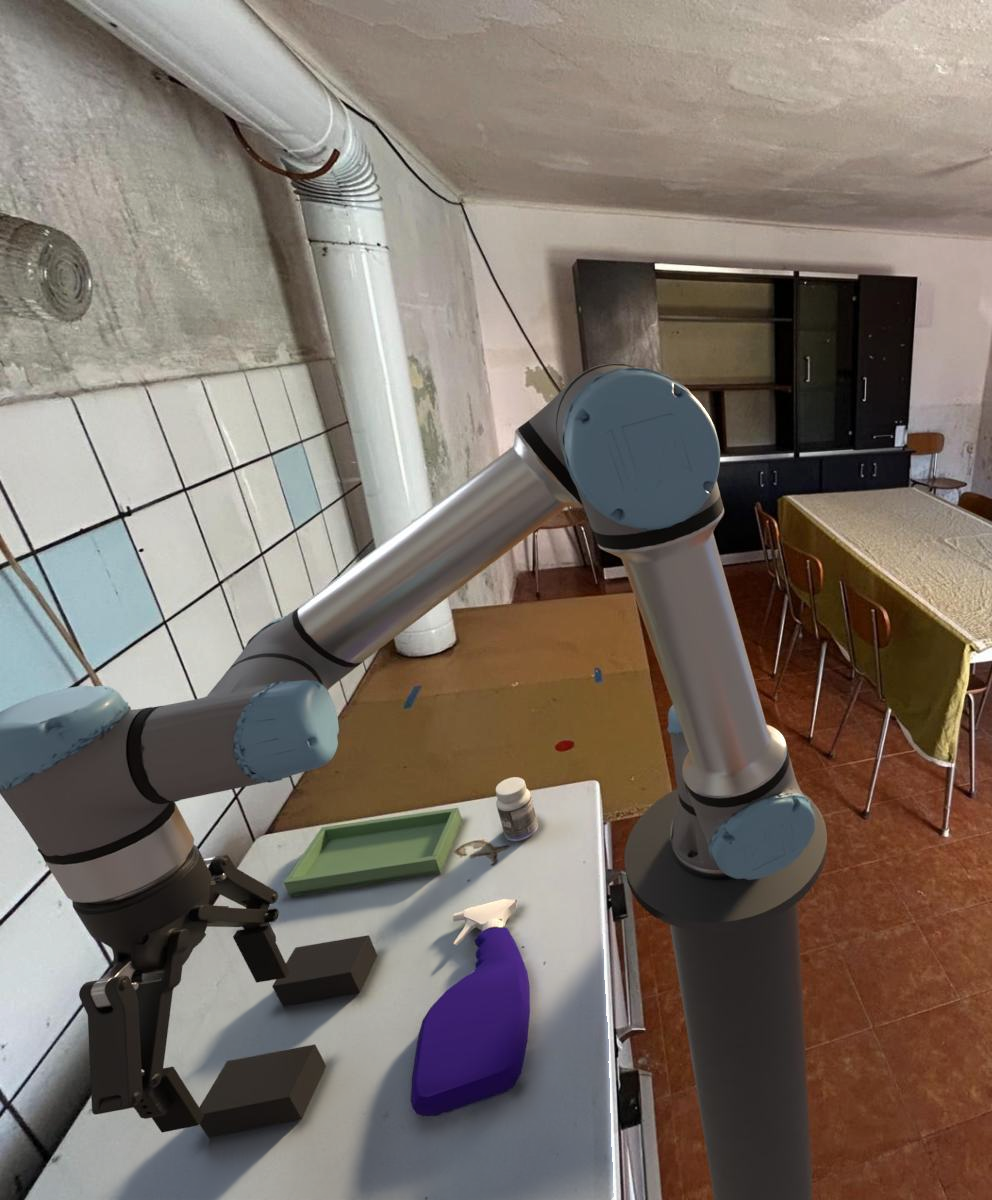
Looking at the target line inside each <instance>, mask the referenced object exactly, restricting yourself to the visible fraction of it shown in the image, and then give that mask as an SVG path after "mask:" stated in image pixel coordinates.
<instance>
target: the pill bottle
mask: <svg viewBox="0 0 992 1200" xmlns="http://www.w3.org/2000/svg"><path fill="white" fill-rule="evenodd" d="M495 795H496V796H495V797H496V802H495V805H496V809H497V813H498V816H499V820H500V824H501V827H502V830H503V831H502V832H503V834H504V836H505V838H506V839H507V840H508V841H511V842H521V841H524V840H526V839H528V838H530V837H531V836H533V835H534V834H535V833H536V831H537V830H538V827H539V824H538V823H539V822H538V817H537V813H536V811H535V807H534V802H533V798H532V793H531V792H530V790H529V789H528V788H527V785H526V782H525V779H523V778H522V777H518V776H513V777H508V778H505V779H504V780H501V781H500V782H499V783H497V785H496V786H495Z"/></svg>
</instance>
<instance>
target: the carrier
mask: <svg viewBox="0 0 992 1200" xmlns="http://www.w3.org/2000/svg"><path fill="white" fill-rule="evenodd" d="M462 823H463V818H462V814H461V811H460V808H459V807H453V808H446V809H440V810H432V811H426V812H419V813H411V814H405V815H398V816H397V815H396V816H390V817H384V818H377V819H370V820H363V821H358V822H357V821H355V822H349V823H341V824H334V825H327V826H322V827H321V828H320V829H319V830H318V832H317V834H316V835H315V836H314V838H313V839H312V841H311V842H310V843H309V845H308V847H307V848H306V849H305V851H304V852H303V854H302V855H301V856H300V858H299V859H298V861H297V862H296V864H295V865H294V867H293V868H292V870H291V871H290V872H289V874H288V875H287V877H286V878H285V880H284V881H283V885H284V887H285V889H286V891H287V893H288V895H289V897H290V898H293V897H299V896H305V895H312V894H318V893H319V894H320V893H324V892H331V891H338V890H344V889H350V888H357V887H361V886H362V887H363V886H370V885H375V884H376V885H377V884H382V883H388V882H394V881H401V880H407V879H408V880H409V879H415V878H420V877H421V878H422V877H427V876H433V875H439V874H441V873H442V871H443V869H444V867H445V864H446V862H447V859H448V856H449V854H450V852H451V850H452V847H453V845H454V842H455V840H456V838H457V835H458V833H459V831H460V828H461V826H462Z"/></svg>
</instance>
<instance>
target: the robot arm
mask: <svg viewBox="0 0 992 1200" xmlns="http://www.w3.org/2000/svg"><path fill="white" fill-rule="evenodd" d="M720 464H721V449H720V441H719V438H718V434H717V430H716V427H715V424H714V423H713V421H712V418H711V417H710V415H709V413H708V412H707V410H706V409H705V407H704V406H703V405H702V403H701V402H700V401H699V400H698V398H696V396H695V395H694V394H693V393H692V392H691V391H690V390H689V389H688V388H687V387H686V386H684V385H683V384H681V383H680V382H679V381H678V380H676V379H675V378H673V377H671V376H669V375H667V374H665V373H662V372H659V371H657V370H654V369H649V368H644V367H638V366H635V365H630V364H624V363H603V364H600V365H596V366H593V367H590V368H587V369H586V370H584V371H583V372H581V373H579V374H578V375H576V376H575V377H574V378H573V379H571V380H570V382H569V383H568V384H566V385H565V386H564V387H563V388H562V389H561V390H560V391H559V393H558V394H556V396H554V398H552V399H551V400H550V401H549V402H548V403H547V404H545V406H544V407H543V408H541V409H540V410H539V411H538V412H537V413H536V414H535V415H533V416H532V417H531V418H530V419H528V420H527V421H526V422H524V423H523V424H522V425H520V426H519V427H518V428H516V429H515V430H514V440H513V444H512V446H511V447H510V448H509V449H507V450H506V451H505V452H503V453H502V454H501V455H500V456H498V457H497V458H495V459H494V460H493V461H491V462H490V463H488V464H487V465H486V466H485V467H483V468H481V470H480V471H479V470H478V472H477V473H475V474H474V475H473V476H471V477H470V478H468V479H466V481H464V483H462V484H460V485H459V486H458V487H457V488H455V489H454V490H452V491H451V492H450V493H448V494H447V495H446V496H444V497H442V499H440V500H439V501H438V502H436V503H435V504H433V506H431V507H429V509H427V510H425V511H424V512H423V513H422V514H420V515H419V516H418V517H417V518H415V519H414V520H412V521H411V522H410V523H408V524H407V525H406V526H404V527H403V528H402V529H400V530H399V531H398V532H396V533H395V534H394V535H393V536H391V537H390V538H388V539H386V540H385V541H384V542H383V543H382V544H380V545H379V546H378V547H376V548H375V549H374V550H372V551H371V552H370V553H368V554H367V555H365V556H364V557H363V558H361V559H360V560H359V561H358V562H356V563H355V564H354V565H352V566H351V567H350V568H348V569H347V570H346V571H344V572H343V573H341V574H340V575H339V576H337V577H336V578H335V579H333V580H332V581H331V582H329V583H328V584H326V586H324V587H322V588H321V589H320V590H319V591H318V592H316V593H315V594H313V595H312V596H311V597H309V598H308V599H307V600H305V601H304V602H303V603H301V604H300V605H299V606H298V607H297V608H296V609H294V610H293V611H291V612H290V613H288V614H287V615H284V616H283V615H282V616H279V617H277V618H275V619H273V620H271V621H270V622H268V623H267V624H266V625H265V626H263V627H262V628H260V629H259V630H258V631H257V632H256V633H255V634H254V635H252V636H251V638H249V639H248V641H247V643H246V645H245V646H244V648H243V649H242V652H240V654H239V655H238V656H237V658H236V659H235V661H234V662H233V663H232V664H231V666H230V667H229V668H228V670H226V672H225V673H224V674H223V676H222V677H221V678H220V679H219V680H218V682H217V683H216V684H215V685H214V687H212V689H211V690H210V692H208V694H207V695H206V696H204V697H200V698H195V699H190V700H185V701H181V702H180V701H179V702H175V703H170V704H165V705H158V706H149V707H144V708H143V707H142V708H136V709H132V708H131V706H130V705H129V702H128V701H126V700H125V699H124V697H123V696H122V695H121V694H120V692H119V691H117V689H114V688H113V687H110V686H106V685H97V686H96V685H95V686H92V685H78V686H73V687H67V688H63V689H57V690H54V691H50V692H46V693H43V694H40V695H36V696H34V697H30V698H29V699H25V700H23V701H21V702H18V703H15V704H13V705H11V706H8V707H7V708H6V709H2V711H0V796H1V797H2V798H3V800H4V801H5V802H6V804H7V806H8V807H9V808H10V810H11V811H12V812H13V814H14V815H15V816H16V818H17V819H18V821H19V822H20V823H21V825H22V826H23V828H24V829H25V831H26V832H27V833H28V835H29V836H30V838H31V840H32V841H33V843H34V844H35V845H36V847H37V851H38V853H39V854H40V855H41V856H42V859H43V861H44V863H45V864H46V866H47V867H48V869H49V871H50V873H51V875H53V878H54V879H55V880H56V882H57V884H58V885H59V887H60V889H61V890H62V892H63V893H64V895H65V896H66V898H67V899H69V900H71V901H72V902H71V903H72V908H73V910H74V912H75V913H76V914H77V916H78V918H79V919H80V921H81V923H82V924H83V926H84V928H86V930H87V932H88V934H89V936H90V937H92V938H93V939H94V940H96V941H98V942H100V943H102V944H104V945H105V946H108V947H109V948H110V949H111V951H112V955H113V966H112V968H111V969H110V970H109V971H107V973H105V975H103V976H102V977H101V978H100V979H96V980H89V981H86V982H84V983H83V984H82V986H81V987H80V990H79V992H78V997H79V999H80V1002H81V1004H82V1006H83V1009H84V1011H85V1013H86V1015H87V1027H88V1028H87V1029H88V1030H87V1031H88V1033H87V1034H88V1050H89V1051H88V1052H89V1055H88V1056H89V1074H90V1075H89V1077H90V1098H91V1112H92V1114H93V1115H94V1116H95V1115H101V1114H108V1113H112V1112H117V1111H122V1110H123V1111H124V1110H128V1109H134V1110H135V1111H136V1113H137V1115H138V1116H139V1117H140V1118H141V1119H144V1120H147V1119H152V1121H153V1122H154V1124H155V1126H157V1128H158V1130H159V1131H160V1132H161V1133H167V1132H173V1131H178V1130H184V1129H188V1128H193V1127H198V1126H200V1122H201V1120H202V1119H203V1117H204V1114H203V1113H202V1111H201V1110H200V1108H199V1107H200V1105H199V1104H198V1103H197V1102H196V1100H195V1098H194V1097H193V1095H192V1094H191V1092H190V1091H189V1089H188V1087H187V1086H186V1084H185V1083H184V1081H183V1080H182V1078H181V1076H180V1075H179V1074H178V1071H177V1069H176V1068H175V1066H168V1067H164V1065H165V1058H166V1057H165V1056H166V1049H167V1042H168V1041H167V1040H168V1039H167V1038H168V1034H169V1033H168V1032H169V1026H170V1025H169V1024H170V1017H171V1008H172V1001H173V992H174V989H175V988H176V987H177V986H179V984H180V983H181V980H182V975H183V973H182V972H183V967H184V965H185V964H186V962H187V961H188V960H189V958H190V956H191V955H192V952H193V950H194V949H195V948H196V947H197V946H198V945H199V944H201V943H202V941H203V940H204V938H205V937H206V936H207V934H206V930H207V928H210V927H211V928H241V927H242V929H237V930H236V931H235V933H234V934H233V936H232V938H233V940H234V942H235V944H236V947H237V948H238V950H239V952H240V954H241V956H242V958H243V960H244V961H245V963H246V966H247V967H248V969H249V972H250V973H251V975H252V978H253V979H254V982H255V983H263V982H268V981H269V982H270V981H276V979H281V978H286V976H287V975H288V973H289V969H288V967H287V965H286V961H285V959H284V957H283V955H282V952H281V950H280V948H279V946H278V944H277V936H276V934H275V932H274V930H273V928H272V925H271V923H275V922H276V921H277V920H278V919H279V916H280V911H279V909H278V908H270V906H271V905H275V903H277V901H278V899H279V894H278V892H277V890H275V889H273V888H271V887H270V886H268V885H266V884H264V883H262V882H261V881H259V880H257V879H256V878H254V877H252V876H250V875H249V874H247V873H245V872H244V871H242V870H240V869H238V868H237V867H236V866H235V864H234V863H233V861H232V859H231V858H230V856H229V855H228V854H222V855H216V856H215V855H214V856H209V857H207V856H206V857H203V855H202V853H201V851H200V849H199V847H198V845H196V844H195V837H194V836H193V833H192V832H191V830H190V827H189V826H188V825H187V822H186V821H185V818H184V817H183V815H182V813H181V811H180V809H179V807H178V806H177V804H176V803H177V802H179V801H183V800H186V799H192V798H196V797H197V798H198V797H203V796H206V795H212V794H216V793H222V792H226V791H230V790H236V789H241V788H245V787H250V786H255V785H256V786H257V785H261V784H266V783H274V782H279V781H282V780H283V779H287V778H290V777H291V776H295V775H298V774H302V773H306V772H309V771H312V770H317V769H319V768H322V767H324V766H326V765H327V764H329V762H330V761H331V760H332V759H333V758H334V756H335V755H336V752H337V750H338V746H339V741H338V740H339V739H338V735H339V733H340V725H339V718H338V713H337V709H336V705H335V703H334V700H333V697H332V696H331V694H330V692H329V690H330V689H331V688H332V687H334V685H335V684H337V683H338V682H340V680H342V679H343V678H345V677H346V676H347V675H349V674H350V673H351V672H352V671H354V670H356V668H358V667H359V666H360V665H362V664H363V663H364V661H366V660H368V658H370V657H371V656H372V655H374V654H375V653H377V651H379V650H380V649H382V648H383V647H384V646H386V645H388V643H389V642H391V641H392V640H394V639H395V638H396V637H397V636H399V635H400V634H401V633H403V632H404V631H405V630H406V629H408V628H409V627H410V626H412V625H413V624H415V623H416V622H418V620H420V619H421V618H422V617H423V616H425V615H426V614H427V613H429V612H430V611H432V610H433V609H434V608H436V607H437V606H438V605H440V604H441V603H442V602H444V601H446V599H448V598H449V597H450V596H451V595H453V594H454V593H455V592H456V591H458V590H459V589H461V588H462V587H463V586H465V585H466V584H467V583H469V582H470V581H472V579H474V578H475V577H476V576H477V575H479V574H480V573H482V572H483V571H485V569H487V568H488V567H490V566H491V565H492V564H493V563H495V562H496V561H498V560H499V559H500V558H502V556H504V555H505V554H507V553H508V552H509V551H510V550H511V549H513V548H514V547H515V546H517V545H518V544H520V543H521V542H522V541H524V540H525V539H526V538H528V537H529V536H530V535H532V534H533V533H535V531H537V530H538V529H539V528H541V527H542V526H543V525H545V524H546V523H547V522H548V521H550V520H551V519H553V518H554V517H555V516H557V515H558V514H559V513H560V512H562V511H563V510H564V509H565V508H579V509H582V508H583V509H584V511H585V514H586V517H587V519H588V523H589V525H590V528H591V530H592V533H593V536H594V539H595V542H596V543H597V544H596V545H597V547H598V548H599V549H600V550H602V551H604V552H606V553H609V554H611V555H613V556H616V557H618V558H620V560H621V562H622V564H623V568H624V571H625V573H626V575H627V576H626V577H627V579H628V581H629V584H630V587H631V590H632V593H633V596H634V599H635V601H636V604H637V607H638V609H639V612H640V616H641V619H642V621H643V624H644V627H645V629H646V632H647V635H648V638H649V641H650V643H651V647H652V649H653V652H654V655H655V658H656V660H657V663H658V666H659V669H660V672H661V674H662V678H663V680H664V683H665V686H666V690H667V692H668V694H669V698H670V700H671V704H672V705H671V706H670V708H669V710H668V715H667V721H668V726H667V732H668V733H669V736H670V743H671V744H670V745H671V751H672V759H673V765H674V766H673V767H674V773H675V774H674V775H675V782H676V789H677V788H678V795H679V803H678V807H677V811H676V815H675V819H674V822H673V820H672V824H671V833H670V840H671V844H672V850H673V854H674V857H675V859H676V861H677V862H678V864H679V865H680V866H681V867H682V868H683V869H684V870H686V871H687V872H689V873H691V874H693V875H695V876H697V877H701V878H705V879H711V880H727V879H733V878H736V879H742V878H745V879H747V880H753V879H759V878H763V877H767V876H769V875H772V874H774V873H776V872H778V871H780V870H782V869H784V868H785V867H787V866H788V865H789V864H791V863H792V862H793V861H794V860H796V859H797V858H798V857H799V856H800V855H801V853H802V851H803V850H804V849H805V848H806V847H807V846H808V844H809V843H810V841H811V839H812V836H813V834H814V830H815V815H814V812H813V810H812V808H811V803H810V801H809V800H808V798H807V797H808V796H807V795H806V796H807V797H806V796H804V795H803V794H802V792H803V791H802V790H801V788H800V786H799V783H798V780H797V778H796V776H795V771H794V767H793V764H792V759H791V757H790V753H789V749H788V745H787V742H786V739H785V737H784V735H783V734H782V733H781V732H780V730H778V729H777V728H775V727H773V726H771V725H770V724H767V722H766V718H765V714H764V711H763V707H762V704H761V700H760V696H759V692H758V690H757V689H758V688H757V685H756V681H755V679H754V675H753V671H752V668H751V665H750V664H751V663H750V660H749V656H748V654H747V650H746V647H745V642H744V639H743V635H742V632H741V628H740V625H739V621H738V617H737V614H736V611H735V607H734V603H733V600H732V599H733V598H732V595H731V592H730V588H729V585H728V582H727V577H726V574H725V571H724V568H723V567H724V566H723V564H722V559H721V556H720V553H719V549H718V545H717V542H716V538H715V535H714V531H715V530H716V527H717V526H718V524H719V522H720V521H721V519H722V518H723V517H724V514H725V507H724V503H723V500H722V497H721V492H720V489H719V484H718V477H719V472H720V466H721V465H720ZM672 825H673V826H672ZM210 891H213V892H214V893H216V894H218V895H221V896H223V897H224V898H226V899H229V900H230V901H232V902H234V903H235V904H238V905H240V906H241V907H229V906H228V905H213V904H210ZM160 973H163V976H162V978H160V979H155V980H148V981H144V980H143V975H153V974H155V975H156V974H160Z"/></svg>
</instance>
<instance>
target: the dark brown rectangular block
mask: <svg viewBox="0 0 992 1200" xmlns="http://www.w3.org/2000/svg"><path fill="white" fill-rule="evenodd" d="M377 958H378V953H377V951H376V948H375V946H374V944H373V941H372V939H371V937H370V935H361V936H355V937H350V938H349V937H348V938H343V939H337V940H331V941H326V942H319V943H314V944H307V945H302V946H296V947H294V949H293V951H292V953H291V954H290V956H289V957H288V959H287V960H286V961H285V963H286V965H287V967H288V969H289V973H288V975H287V976H286V978H281V979H275V980H274V983H273V984H272V989H273V991H274V992H275V995H276V997H277V999H278V1000H279V1002H280V1004H281V1006H282V1008H287V1007H291V1006H297V1005H303V1004H308V1003H309V1004H310V1003H314V1002H319V1001H320V1002H321V1001H325V1000H332V999H336V998H342V997H348V996H353V995H359V994H361V992H362V990H363V988H364V986H365V983H366V981H367V979H368V977H369V974H370V972H371V970H372V968H373V966H374V964H375V962H376V959H377Z"/></svg>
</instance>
